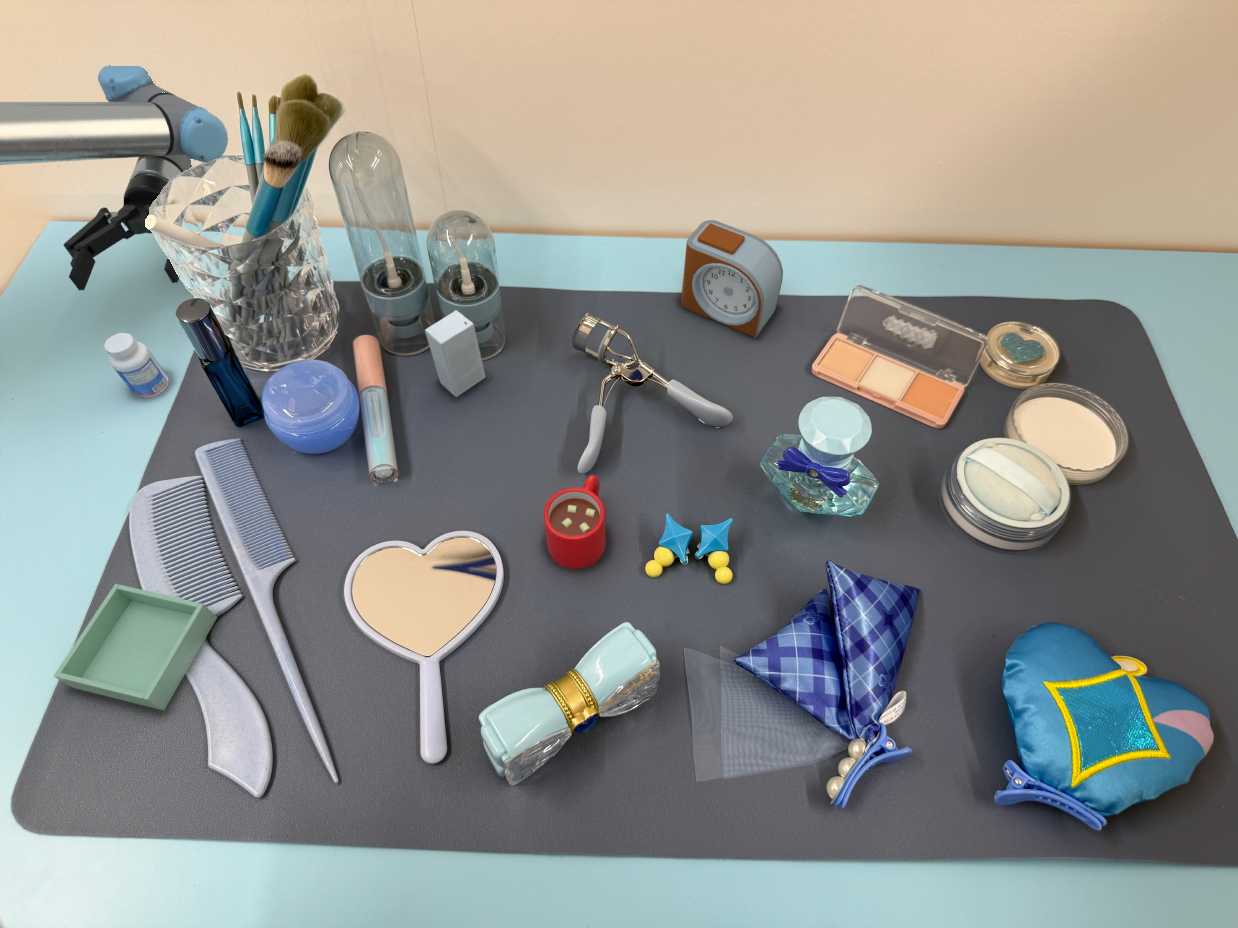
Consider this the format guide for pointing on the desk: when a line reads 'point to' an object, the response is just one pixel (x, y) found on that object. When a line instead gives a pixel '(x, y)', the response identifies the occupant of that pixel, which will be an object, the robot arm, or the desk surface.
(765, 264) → the alarm clock
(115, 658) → the tray
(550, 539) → the mug
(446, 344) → the cosmetic box
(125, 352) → the pill bottle
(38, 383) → the desk surface
